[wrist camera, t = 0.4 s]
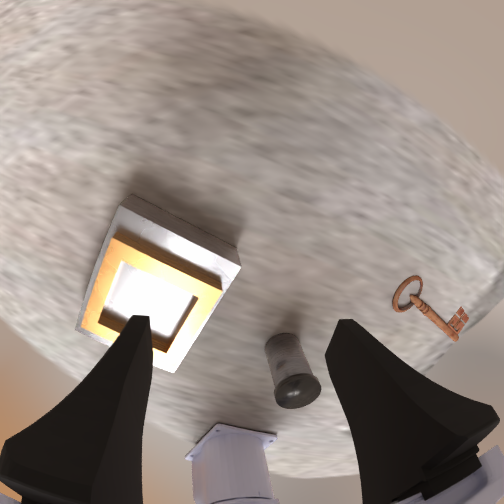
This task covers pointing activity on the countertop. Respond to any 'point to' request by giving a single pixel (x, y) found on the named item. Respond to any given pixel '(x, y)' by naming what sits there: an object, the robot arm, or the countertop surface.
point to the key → (428, 312)
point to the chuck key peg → (291, 372)
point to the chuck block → (156, 280)
